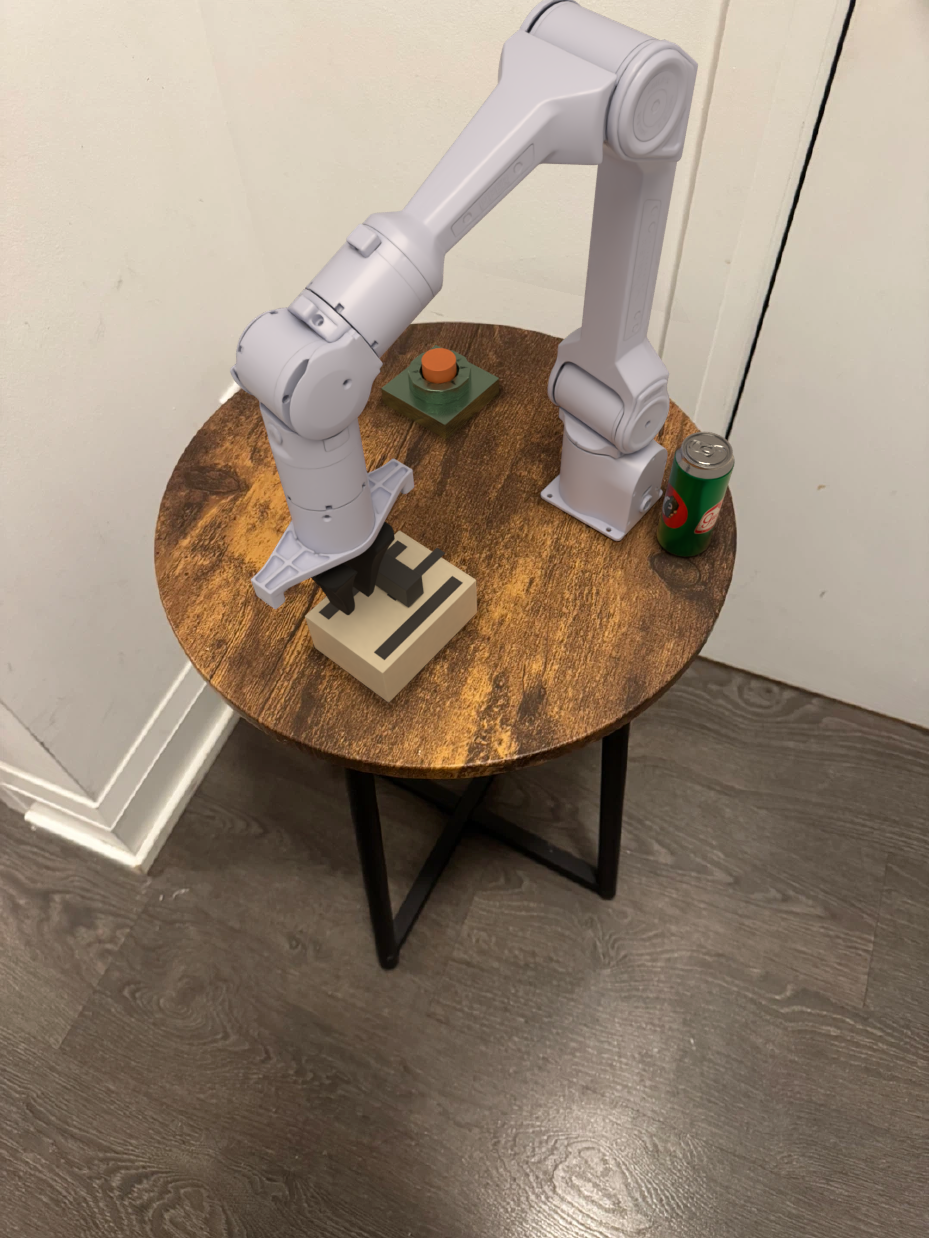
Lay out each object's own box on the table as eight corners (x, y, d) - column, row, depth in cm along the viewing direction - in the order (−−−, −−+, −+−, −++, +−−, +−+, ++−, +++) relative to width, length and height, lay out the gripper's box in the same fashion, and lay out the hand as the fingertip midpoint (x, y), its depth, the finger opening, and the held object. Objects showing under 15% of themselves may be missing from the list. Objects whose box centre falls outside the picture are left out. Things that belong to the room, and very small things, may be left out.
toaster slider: (424, 593, 76) (422, 575, 74) (408, 608, 75) (406, 590, 73) (389, 570, 78) (386, 552, 75) (373, 584, 77) (370, 566, 75)
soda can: (697, 568, 83) (724, 479, 73) (647, 547, 85) (667, 458, 75) (717, 531, 86) (746, 440, 76) (667, 512, 87) (690, 420, 77)
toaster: (481, 608, 81) (480, 575, 77) (388, 703, 76) (382, 672, 72) (407, 560, 85) (403, 526, 81) (314, 647, 79) (304, 615, 75)
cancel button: (463, 370, 94) (463, 357, 93) (441, 388, 93) (440, 375, 91) (437, 356, 96) (436, 343, 94) (415, 374, 94) (414, 361, 93)
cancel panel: (499, 393, 97) (499, 364, 94) (446, 440, 94) (444, 411, 90) (436, 360, 101) (434, 331, 97) (383, 403, 97) (379, 374, 94)
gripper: (356, 395, 64) (377, 518, 75) (203, 516, 58) (250, 630, 69) (430, 438, 61) (440, 559, 73) (277, 569, 55) (314, 679, 67)
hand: (352, 597), depth 71 cm, fingers closed
